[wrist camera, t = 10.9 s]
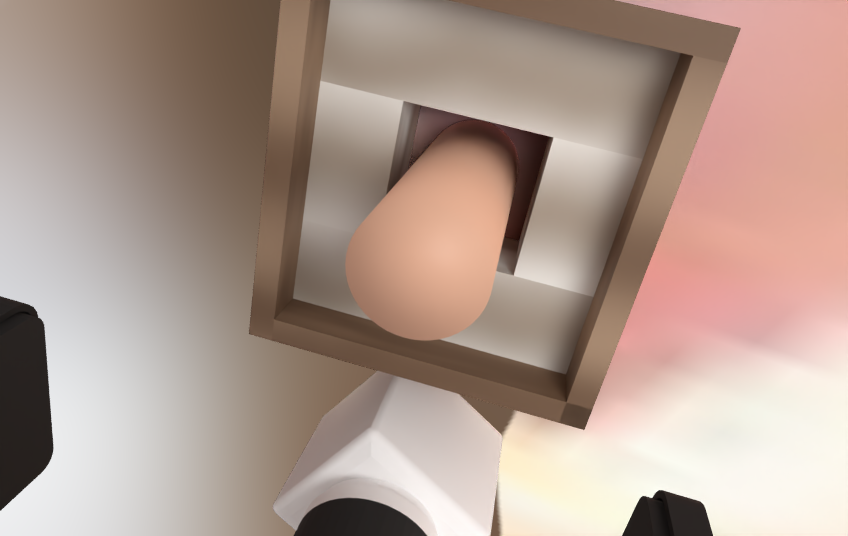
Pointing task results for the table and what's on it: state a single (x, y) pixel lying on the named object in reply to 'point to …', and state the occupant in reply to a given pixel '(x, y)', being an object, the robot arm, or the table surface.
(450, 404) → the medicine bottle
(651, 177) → the bore box
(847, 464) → the table surface
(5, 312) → the robot arm
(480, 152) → the peg
